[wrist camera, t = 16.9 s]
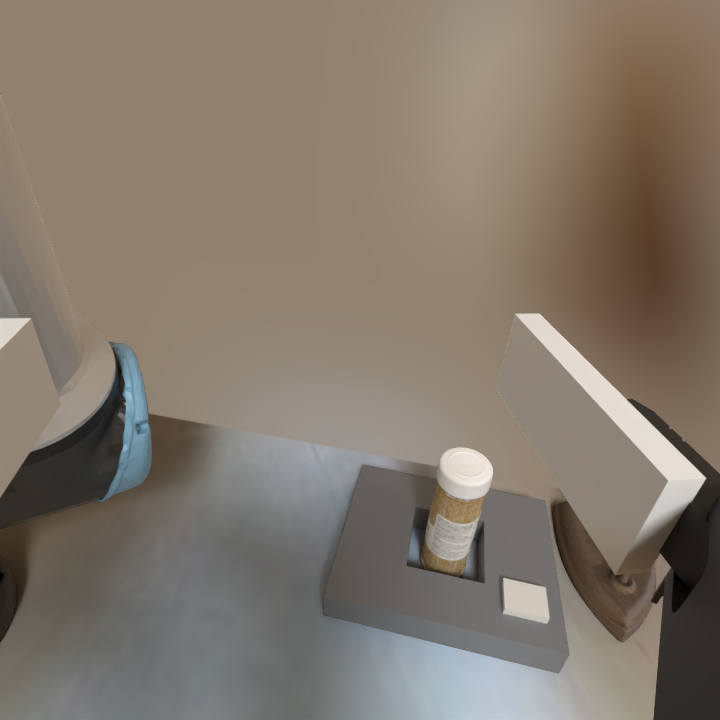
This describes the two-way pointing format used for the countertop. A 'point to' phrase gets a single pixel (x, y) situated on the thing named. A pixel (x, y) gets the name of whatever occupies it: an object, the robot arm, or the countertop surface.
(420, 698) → the countertop surface
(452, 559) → the sprinkles bottle
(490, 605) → the socket plate
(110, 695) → the countertop surface
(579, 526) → the clothes iron
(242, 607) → the countertop surface
